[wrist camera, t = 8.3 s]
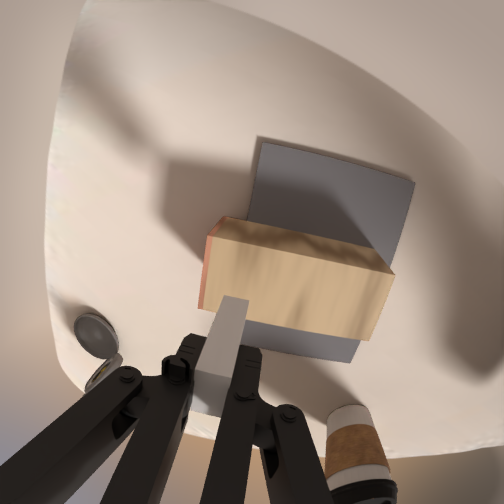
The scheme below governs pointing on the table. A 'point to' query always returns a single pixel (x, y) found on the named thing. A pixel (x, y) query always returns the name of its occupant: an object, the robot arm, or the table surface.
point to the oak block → (295, 278)
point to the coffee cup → (356, 459)
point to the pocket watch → (98, 345)
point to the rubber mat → (324, 226)
